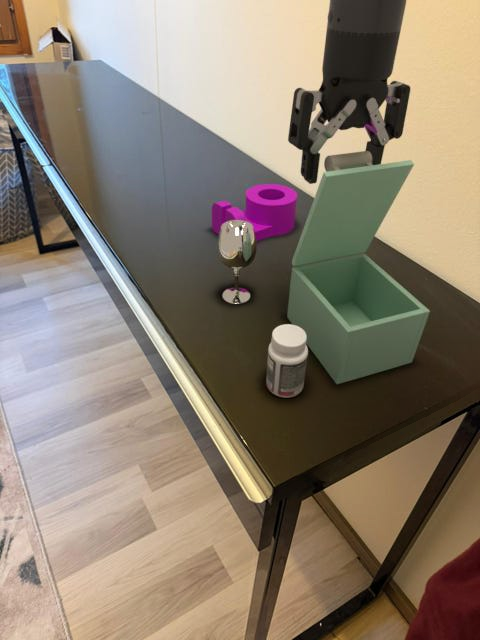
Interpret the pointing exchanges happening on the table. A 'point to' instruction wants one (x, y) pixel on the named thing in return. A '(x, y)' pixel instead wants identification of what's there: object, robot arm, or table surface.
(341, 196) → the bin lid
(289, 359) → the pill bottle
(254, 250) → the wineglass
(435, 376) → the table surface
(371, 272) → the bin
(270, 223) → the tape dispenser
